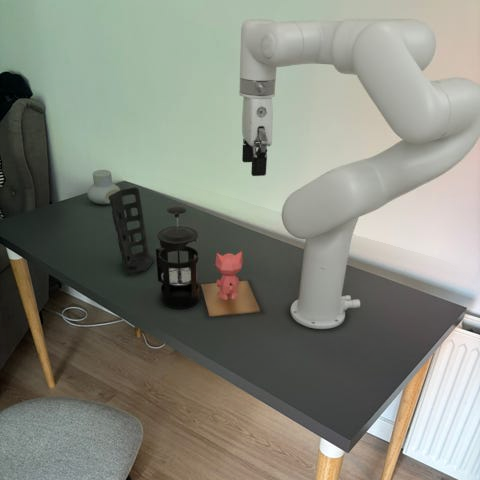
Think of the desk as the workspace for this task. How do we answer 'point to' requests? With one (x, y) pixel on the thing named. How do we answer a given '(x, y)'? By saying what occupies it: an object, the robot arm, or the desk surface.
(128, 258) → the holder
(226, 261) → the cat figurine
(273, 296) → the desk surface
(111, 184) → the air freshener
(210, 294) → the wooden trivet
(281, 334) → the desk surface
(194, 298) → the french press
